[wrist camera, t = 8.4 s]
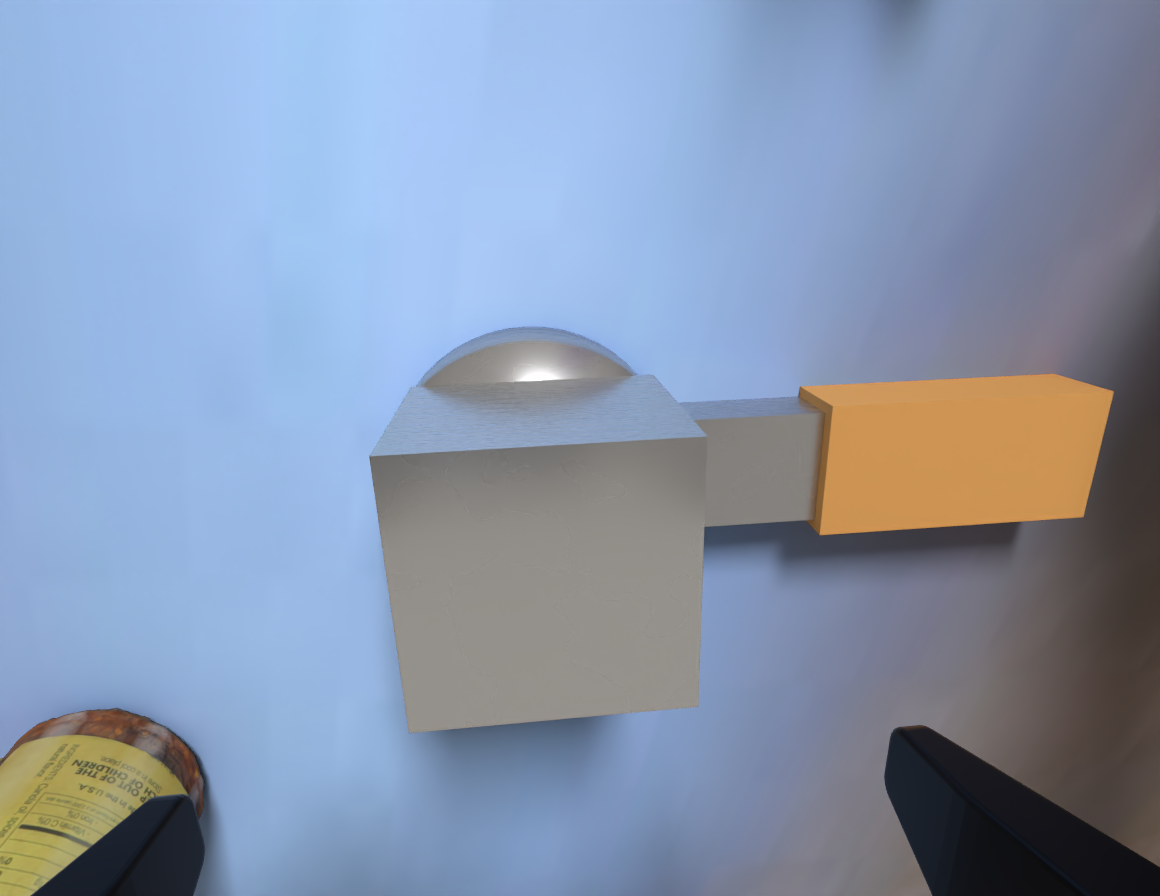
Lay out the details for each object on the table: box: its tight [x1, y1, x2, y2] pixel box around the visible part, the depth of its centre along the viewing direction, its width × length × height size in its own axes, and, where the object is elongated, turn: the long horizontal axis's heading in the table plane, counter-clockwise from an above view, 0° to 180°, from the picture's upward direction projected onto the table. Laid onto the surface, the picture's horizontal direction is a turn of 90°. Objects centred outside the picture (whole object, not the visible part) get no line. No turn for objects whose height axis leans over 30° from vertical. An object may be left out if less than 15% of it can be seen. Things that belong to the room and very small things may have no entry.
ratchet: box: [416, 327, 1114, 535], centre depth 18 cm, size 20×8×5 cm, turn 92°
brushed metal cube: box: [369, 375, 708, 733], centre depth 15 cm, size 6×6×5 cm
